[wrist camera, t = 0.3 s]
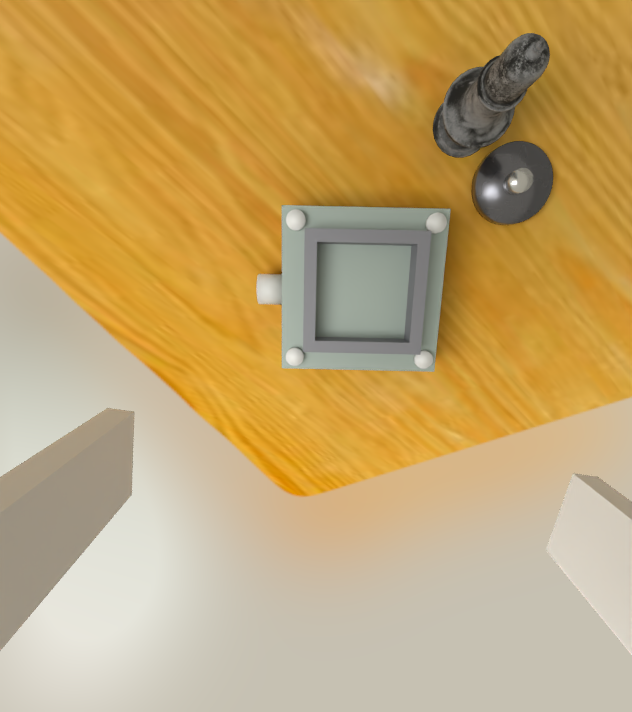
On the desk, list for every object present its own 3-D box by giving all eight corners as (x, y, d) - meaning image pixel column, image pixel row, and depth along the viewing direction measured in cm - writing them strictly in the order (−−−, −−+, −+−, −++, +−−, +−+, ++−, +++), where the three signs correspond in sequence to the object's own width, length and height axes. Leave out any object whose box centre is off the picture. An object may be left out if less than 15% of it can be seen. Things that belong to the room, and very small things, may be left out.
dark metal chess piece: (494, 156, 33) (591, 91, 21) (431, 165, 33) (492, 105, 21) (493, 84, 32) (597, -27, 20) (427, 94, 32) (491, -11, 20)
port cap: (476, 144, 33) (487, 135, 30) (552, 145, 33) (568, 136, 30) (467, 224, 34) (477, 221, 32) (539, 225, 34) (554, 222, 32)
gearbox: (262, 214, 34) (248, 199, 27) (431, 218, 34) (460, 204, 27) (264, 355, 37) (251, 373, 30) (419, 358, 37) (441, 377, 30)
